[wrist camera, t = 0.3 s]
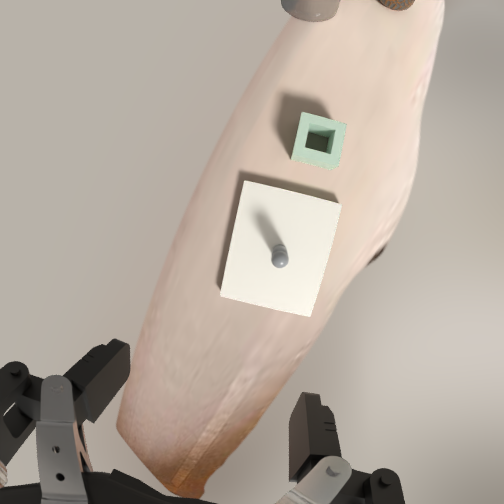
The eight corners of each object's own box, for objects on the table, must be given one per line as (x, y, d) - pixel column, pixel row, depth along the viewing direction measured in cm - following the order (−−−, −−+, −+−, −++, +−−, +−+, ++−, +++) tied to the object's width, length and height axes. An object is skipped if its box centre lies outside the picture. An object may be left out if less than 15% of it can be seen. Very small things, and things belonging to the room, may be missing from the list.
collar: (299, 121, 33) (301, 111, 29) (338, 132, 33) (346, 124, 29) (290, 159, 34) (292, 154, 30) (330, 170, 34) (338, 166, 30)
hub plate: (245, 181, 35) (238, 177, 29) (339, 204, 35) (353, 205, 28) (221, 292, 39) (210, 311, 32) (309, 312, 38) (314, 335, 31)
